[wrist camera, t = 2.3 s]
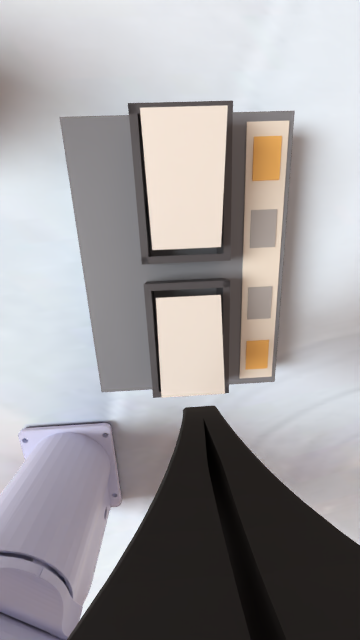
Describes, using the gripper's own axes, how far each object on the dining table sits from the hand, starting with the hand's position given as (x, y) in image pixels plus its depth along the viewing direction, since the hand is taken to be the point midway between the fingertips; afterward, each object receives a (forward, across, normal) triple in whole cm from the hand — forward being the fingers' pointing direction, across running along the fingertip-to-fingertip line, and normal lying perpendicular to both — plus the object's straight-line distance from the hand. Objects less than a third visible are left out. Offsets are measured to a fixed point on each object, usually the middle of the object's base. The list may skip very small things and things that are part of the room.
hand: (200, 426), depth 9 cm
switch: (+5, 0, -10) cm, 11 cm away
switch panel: (+9, 0, -6) cm, 11 cm away
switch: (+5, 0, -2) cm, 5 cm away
